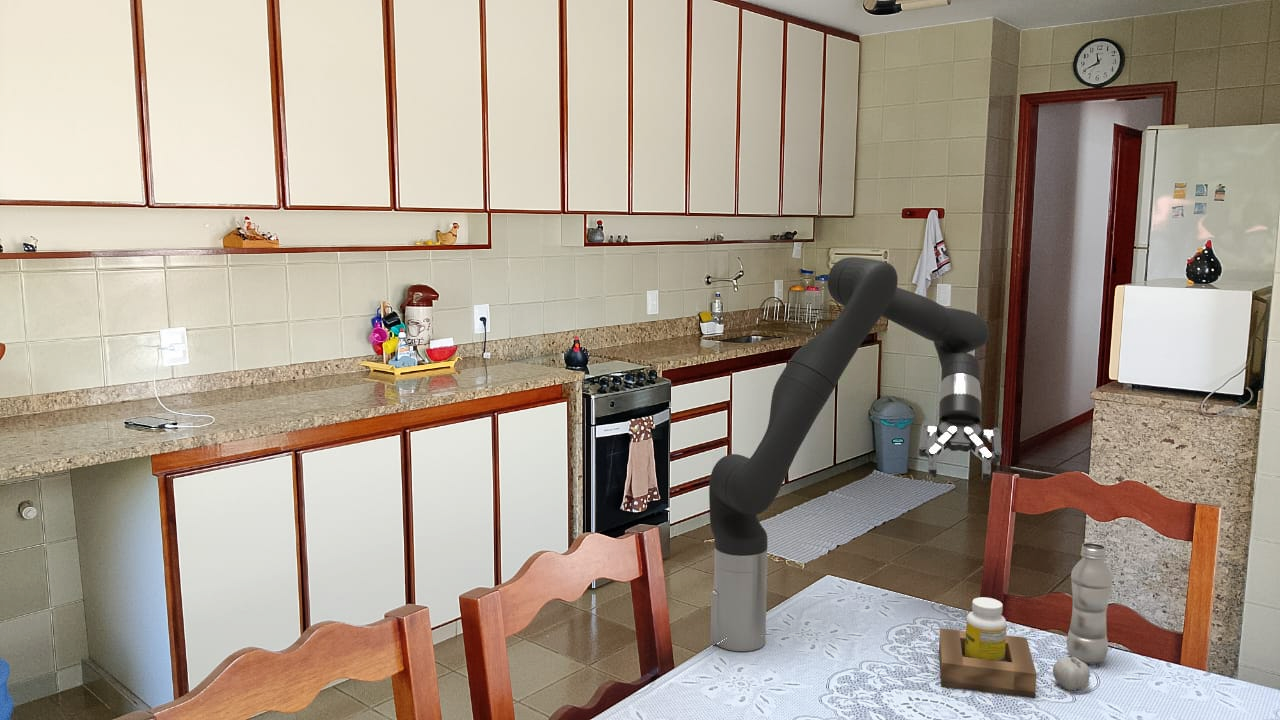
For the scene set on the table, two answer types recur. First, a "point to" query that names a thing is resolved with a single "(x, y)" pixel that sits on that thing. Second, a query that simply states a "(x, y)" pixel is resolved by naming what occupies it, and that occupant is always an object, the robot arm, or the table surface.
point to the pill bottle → (986, 630)
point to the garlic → (1071, 673)
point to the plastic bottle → (1089, 605)
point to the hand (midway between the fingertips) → (959, 476)
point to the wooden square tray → (987, 667)
